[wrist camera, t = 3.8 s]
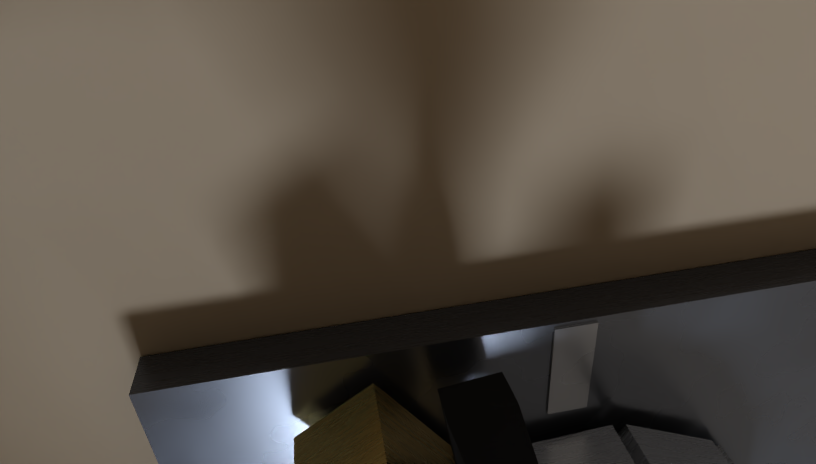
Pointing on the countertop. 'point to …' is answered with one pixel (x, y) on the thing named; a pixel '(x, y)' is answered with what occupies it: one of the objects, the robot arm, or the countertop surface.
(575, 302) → the flange plate
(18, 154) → the countertop surface
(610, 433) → the grey block ring
